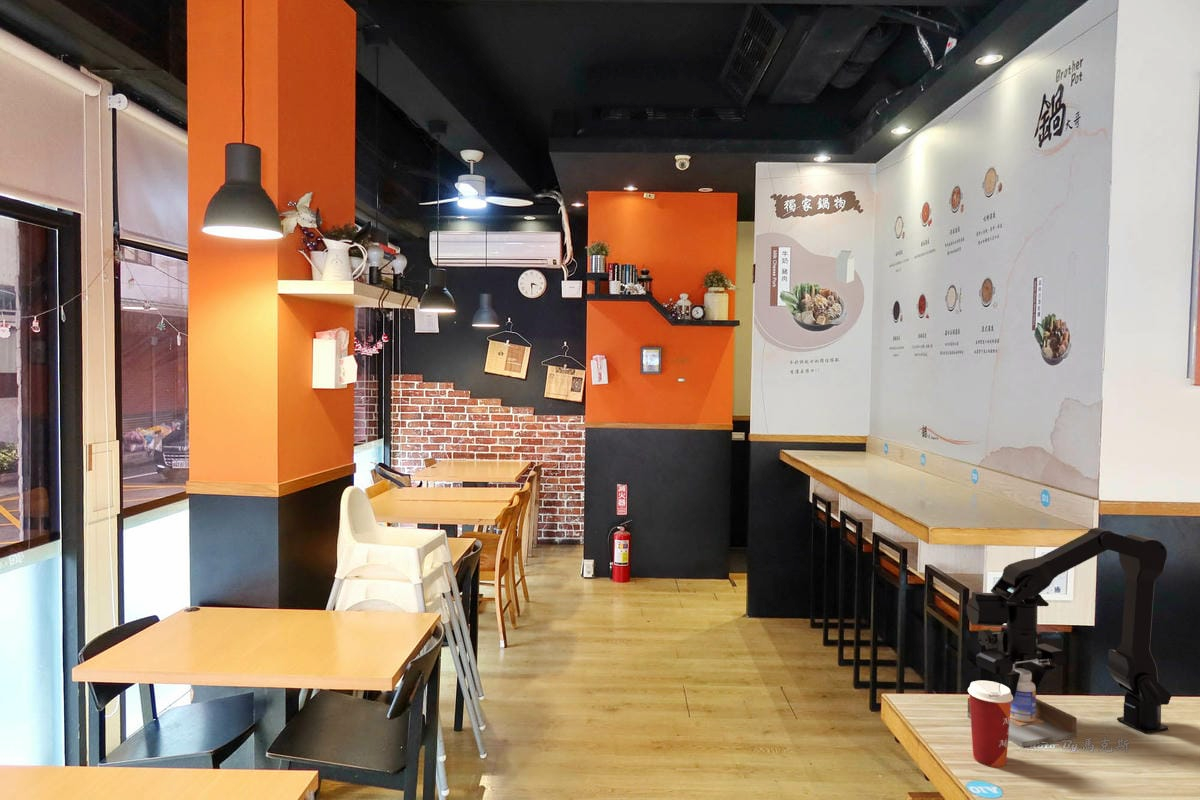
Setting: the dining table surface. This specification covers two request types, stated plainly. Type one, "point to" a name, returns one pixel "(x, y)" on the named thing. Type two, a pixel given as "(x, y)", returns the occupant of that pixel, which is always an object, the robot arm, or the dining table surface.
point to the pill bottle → (1024, 698)
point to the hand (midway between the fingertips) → (1021, 698)
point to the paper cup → (990, 721)
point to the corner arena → (1041, 726)
